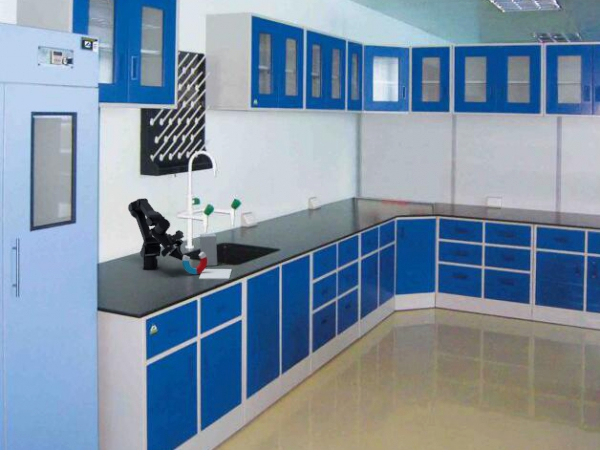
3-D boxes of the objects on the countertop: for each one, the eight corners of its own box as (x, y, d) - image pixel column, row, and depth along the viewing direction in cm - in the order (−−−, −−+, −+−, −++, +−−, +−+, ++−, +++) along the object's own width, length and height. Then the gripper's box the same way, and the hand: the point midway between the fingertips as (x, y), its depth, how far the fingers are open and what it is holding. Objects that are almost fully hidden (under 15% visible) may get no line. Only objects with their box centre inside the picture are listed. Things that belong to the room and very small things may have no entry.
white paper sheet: (199, 279, 360) (199, 278, 360) (203, 269, 379) (203, 268, 379) (229, 279, 360) (229, 278, 360) (231, 270, 380) (231, 269, 380)
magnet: (185, 276, 366) (183, 255, 364) (183, 275, 368) (181, 255, 366) (208, 272, 371) (206, 251, 369) (206, 271, 373) (204, 251, 372)
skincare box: (216, 263, 395) (216, 233, 393) (217, 266, 388) (217, 235, 386) (200, 263, 394) (199, 233, 392) (200, 266, 387) (200, 235, 385)
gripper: (167, 228, 358) (190, 252, 358) (179, 222, 376) (201, 245, 377) (151, 244, 361) (174, 268, 361) (164, 238, 379) (186, 260, 379)
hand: (184, 260), depth 369 cm, fingers closed
